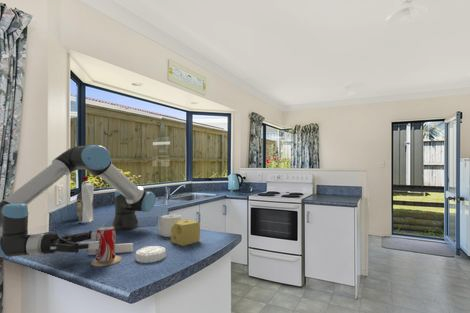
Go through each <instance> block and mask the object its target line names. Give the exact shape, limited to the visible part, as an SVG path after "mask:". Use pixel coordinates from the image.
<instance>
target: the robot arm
mask: <svg viewBox="0 0 470 313" xmlns="http://www.w3.org/2000/svg"><path fill="white" fill-rule="evenodd" d="M78 170H85V171H87V172H88V173H89V174H90V175H92V176H94V177H100V179H102V180H103V181H104V182H106V183H107V184H108V185H110V186H111V188H113V189H114V190H115V193H114V212H115V213H114V218H113V221H112V225H111V226H113V227H114V229H115V231H116V230H117V231H123V230H125V231H126V230H133V229H135V228H138V227H139V220H138V218H137V214H136V212H143V213H146V212H147V213H148V212H150V211H153V209H154V207H155V205H156V199H157V198H156V195H155V192H152V191H147V190H145V189H144V187H142V186H137V185H136V184H135V183H134V182H133V181H132V180H130V178H128V177H127V176H126V175H125V174H124V173H123V172H121V171H120V169H119V168H117V167H116V166H115V165H114V164H113V160H112V159H111V153H110V151H109V150H108V149H107V148H106V147H104V146H102V145H98V144H90V145H76V146H72V147H71V148H69V149H67V150H65V151H64V152H62V153H61V154H59V155H58V156H57V157H55V158H54V159H53V160H52V161H51V163H50V165H48V166H47V167H45V168H44V169H43V170H41V171H40V172H39V173H38V174H36V175H35V176H34V177H33V178H31V179H29V180H28V181H27V182H26V183H24V184H23V185H22V186H20V187H19V188H18V189H16V190H15V191H14V192H12V193H11V194H10V195H7V197H5V198H3V200H1V201H0V228H2V232H1V233H2V235H1V236H0V258H3V257H4V258H5V257H8V258H11V257H19V256H20V257H21V256H30V255H31V256H35V257H36V256H38V255H42V254H43V255H45V254H46V255H49V254H55V253H56V252H60V253H71V254H72V253H75V254H78V253H79V251H84V250H85V251H87V250H88V249H99V241H96V232H93V231H92V230H89V231H87V232H81V233H74V234H65V235H64V236H62V237H59V234H58V233H56V232H50V233H33V234H32V233H31V234H29V233H28V231H29V230H28V226H29V210H28V205H29V204H31V203H32V202H33V201H35V199H37V198H38V197H39V196H40V195H42V194H43V193H45V191H47V190H48V189H49V188H50V187H52V186H53V185H55V183H56V182H58V181H59V180H60V179H61V178H62V179H63V177H64V176H69V175H70V174H71V173H72V172H75V171H78ZM88 240H91V241H88ZM92 240H93V241H92Z"/></svg>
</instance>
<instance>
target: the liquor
mask: <svg viewBox="0 0 470 313" xmlns="http://www.w3.org/2000/svg"><path fill="white" fill-rule="evenodd" d="M81 181H82V182H81V183H82V184H83V185H85V183H89V177H88V176H82V177H81ZM85 181H88V182H85ZM83 182H85V183H83ZM82 184H81V185H82ZM79 207H81V218H82V213H83V201H82V190H80V192H79V193H78V194H77V196H76V219H77V220H79ZM92 208H93V209H94V199H93V200H92Z"/></svg>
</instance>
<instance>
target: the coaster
mask: <svg viewBox="0 0 470 313" xmlns="http://www.w3.org/2000/svg"><path fill="white" fill-rule="evenodd" d="M121 261H122V256H120V255H115V258H114V260H113V261H111V262H107V263H99V262H97V261H96V258H95V259H93V260H92V261H91V266H93V267H100V268H101V267H108V266H112V265H116V264H119V263H120V262H121Z"/></svg>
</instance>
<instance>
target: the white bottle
mask: <svg viewBox="0 0 470 313" xmlns="http://www.w3.org/2000/svg"><path fill="white" fill-rule="evenodd" d="M85 182H88V183H85ZM85 182H83V183H85V185H83V184H81V191H82V201H83V213H82V218H81V207H79V219H78V223H81V222H91V221H93V222H94V207H93V208H92V200H93V201H94V192H95V191H94V190H95V188H94V187H95V186H94V183H93V182H92V183H91V180H88V181H85ZM81 219H82V220H81ZM91 223H92V222H91Z"/></svg>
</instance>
